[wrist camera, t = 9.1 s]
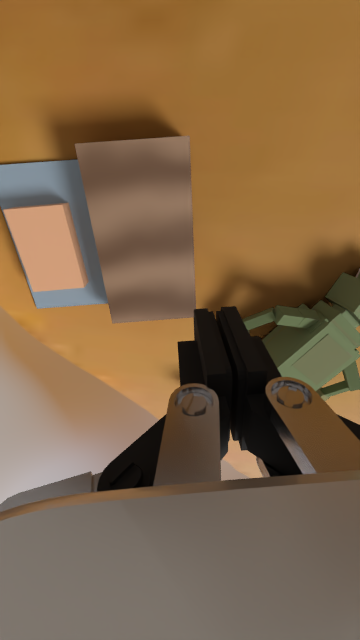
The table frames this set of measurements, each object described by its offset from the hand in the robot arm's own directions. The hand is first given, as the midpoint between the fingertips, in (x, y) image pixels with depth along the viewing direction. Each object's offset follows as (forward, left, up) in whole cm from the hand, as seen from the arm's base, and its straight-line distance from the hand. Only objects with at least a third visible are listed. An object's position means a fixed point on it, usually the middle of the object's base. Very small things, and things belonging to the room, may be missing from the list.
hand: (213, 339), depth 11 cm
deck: (0, -4, -23) cm, 23 cm away
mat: (0, -14, -23) cm, 27 cm away
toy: (+17, +14, -23) cm, 32 cm away
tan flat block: (+1, -15, -21) cm, 26 cm away
